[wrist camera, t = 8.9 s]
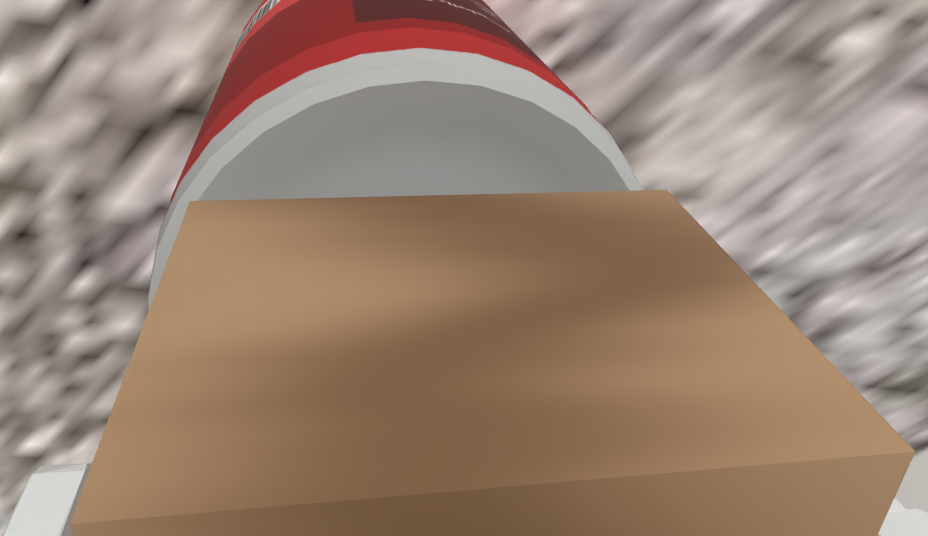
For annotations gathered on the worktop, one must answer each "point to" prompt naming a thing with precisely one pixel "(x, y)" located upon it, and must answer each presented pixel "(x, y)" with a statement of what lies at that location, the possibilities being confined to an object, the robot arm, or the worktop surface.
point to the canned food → (388, 112)
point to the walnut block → (477, 381)
